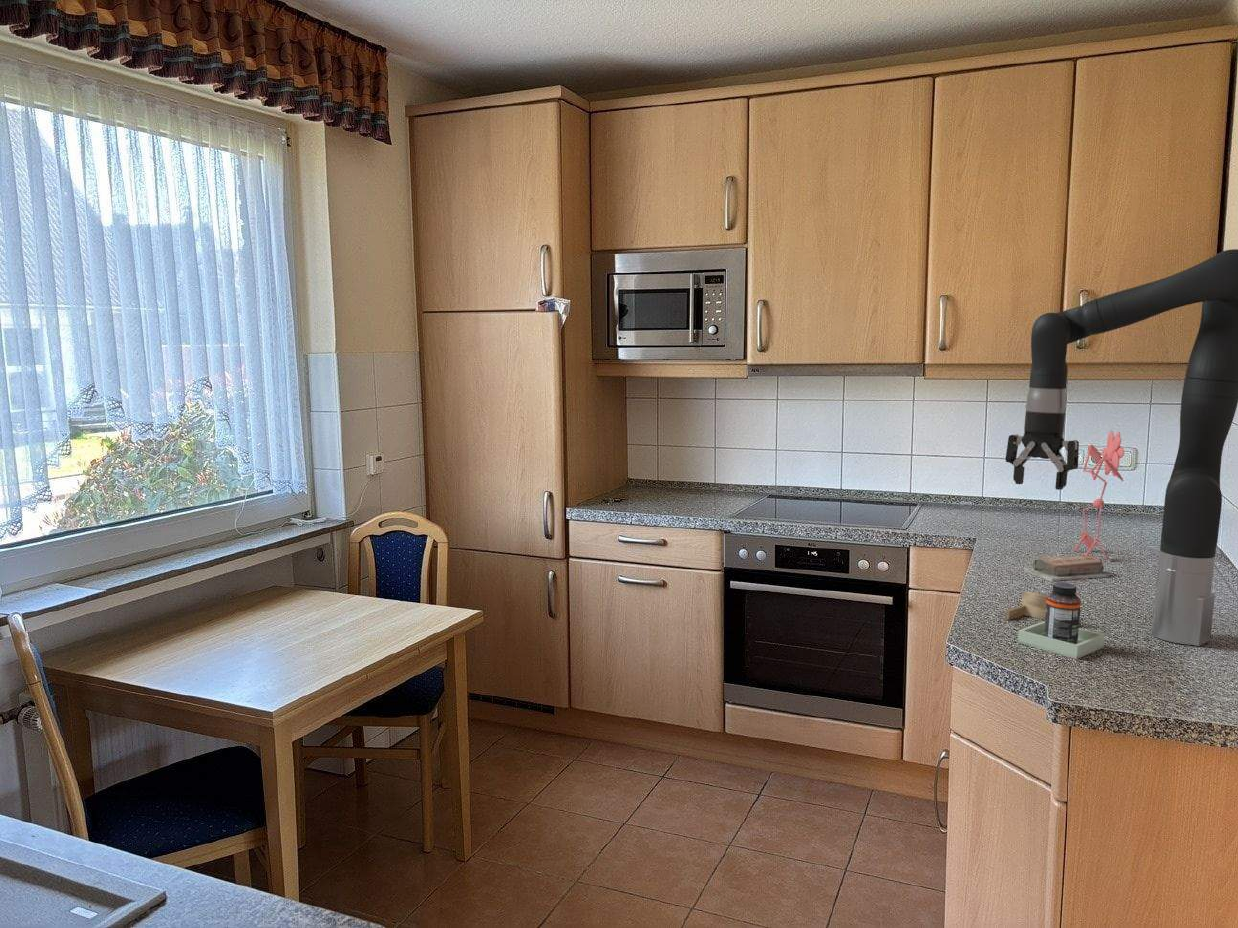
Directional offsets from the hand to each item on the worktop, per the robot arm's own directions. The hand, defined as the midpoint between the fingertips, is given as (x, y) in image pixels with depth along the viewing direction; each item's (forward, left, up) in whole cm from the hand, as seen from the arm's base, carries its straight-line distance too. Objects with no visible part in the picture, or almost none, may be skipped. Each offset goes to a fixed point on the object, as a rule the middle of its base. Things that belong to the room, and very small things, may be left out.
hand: (1038, 486), depth 191 cm
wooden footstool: (-4, +6, -28) cm, 28 cm away
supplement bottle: (-14, +15, -27) cm, 34 cm away
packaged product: (+12, -42, -28) cm, 52 cm away
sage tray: (-14, +16, -28) cm, 35 cm away
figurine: (+15, -71, -28) cm, 78 cm away
